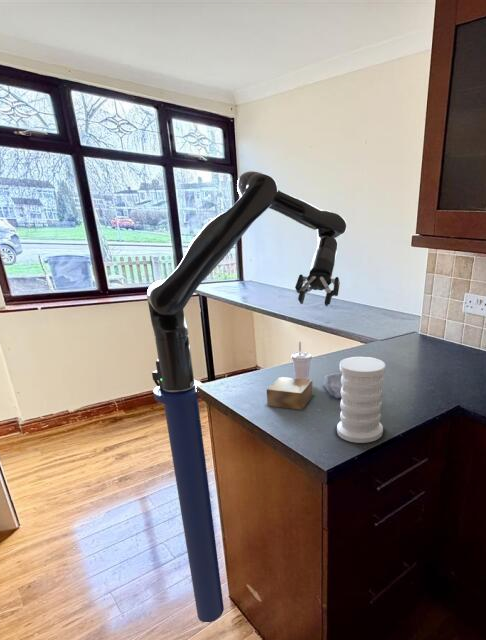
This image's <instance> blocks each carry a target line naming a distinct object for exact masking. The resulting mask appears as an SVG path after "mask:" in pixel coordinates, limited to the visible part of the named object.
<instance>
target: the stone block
mask: <svg viewBox="0 0 486 640" xmlns="http://www.w3.org/2000/svg"><path fill="white" fill-rule="evenodd" d="M341 376H342V373H331V374H327V375H325V376H324V379H323V380H324V381H323V382H324V383H323V384H324V387H325V389H326V391H327V392H328V393H329V395H330V396H331V397H332V398H333V399H335V400H338V399H339V400H341V399H342V396H341V392H340V391H341V388H342V383H341Z"/></svg>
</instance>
